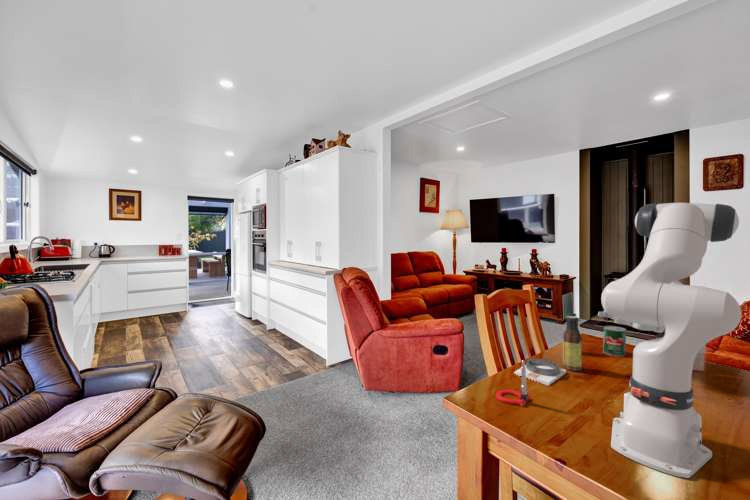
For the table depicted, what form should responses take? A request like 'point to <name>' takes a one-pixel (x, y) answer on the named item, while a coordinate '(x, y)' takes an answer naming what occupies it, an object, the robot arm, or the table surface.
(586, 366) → the table surface
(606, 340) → the canned tomato
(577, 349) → the sauce bottle
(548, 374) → the socket board
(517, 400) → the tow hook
